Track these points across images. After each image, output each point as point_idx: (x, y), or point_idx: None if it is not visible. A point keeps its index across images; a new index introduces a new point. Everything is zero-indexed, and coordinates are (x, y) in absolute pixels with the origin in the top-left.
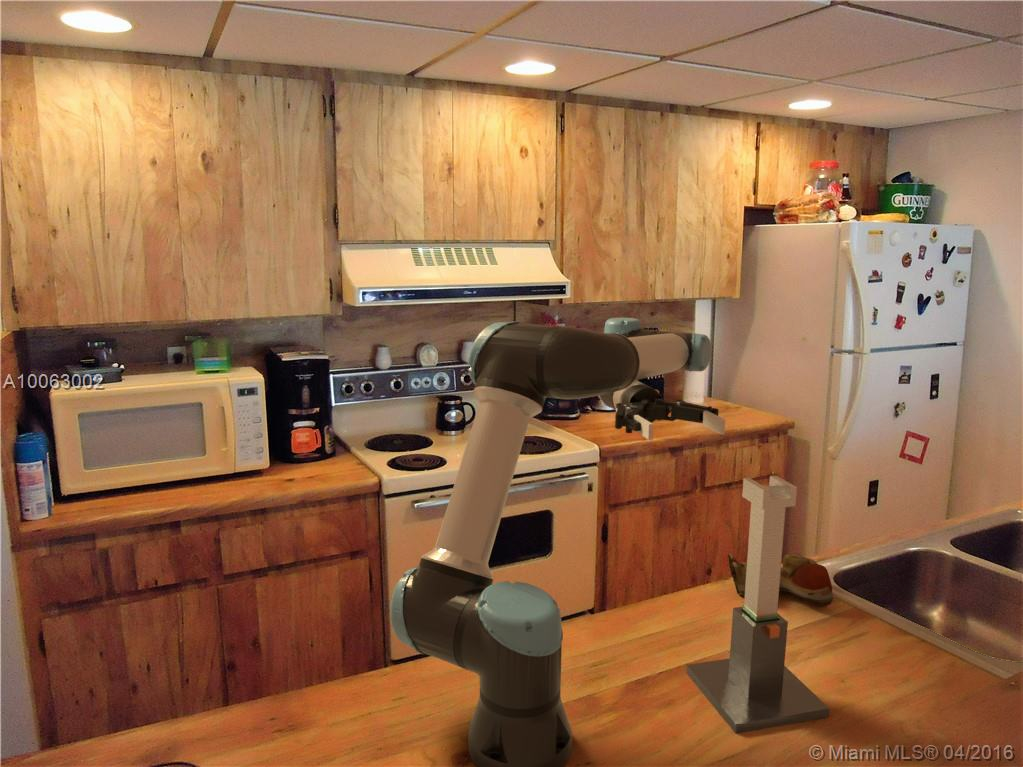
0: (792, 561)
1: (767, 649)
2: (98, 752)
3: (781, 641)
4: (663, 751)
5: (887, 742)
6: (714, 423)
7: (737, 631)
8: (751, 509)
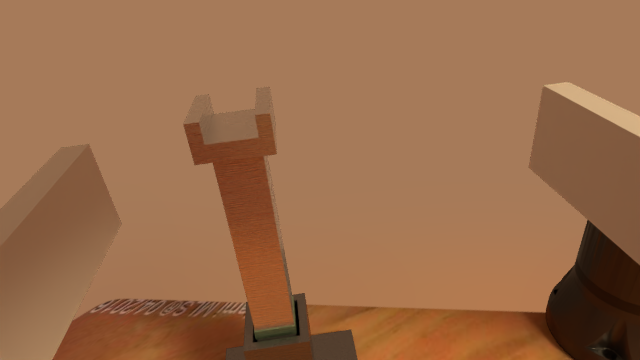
0: None
1: None
2: None
3: None
4: (439, 317)
5: (200, 319)
6: (73, 231)
7: (311, 348)
8: (266, 170)
